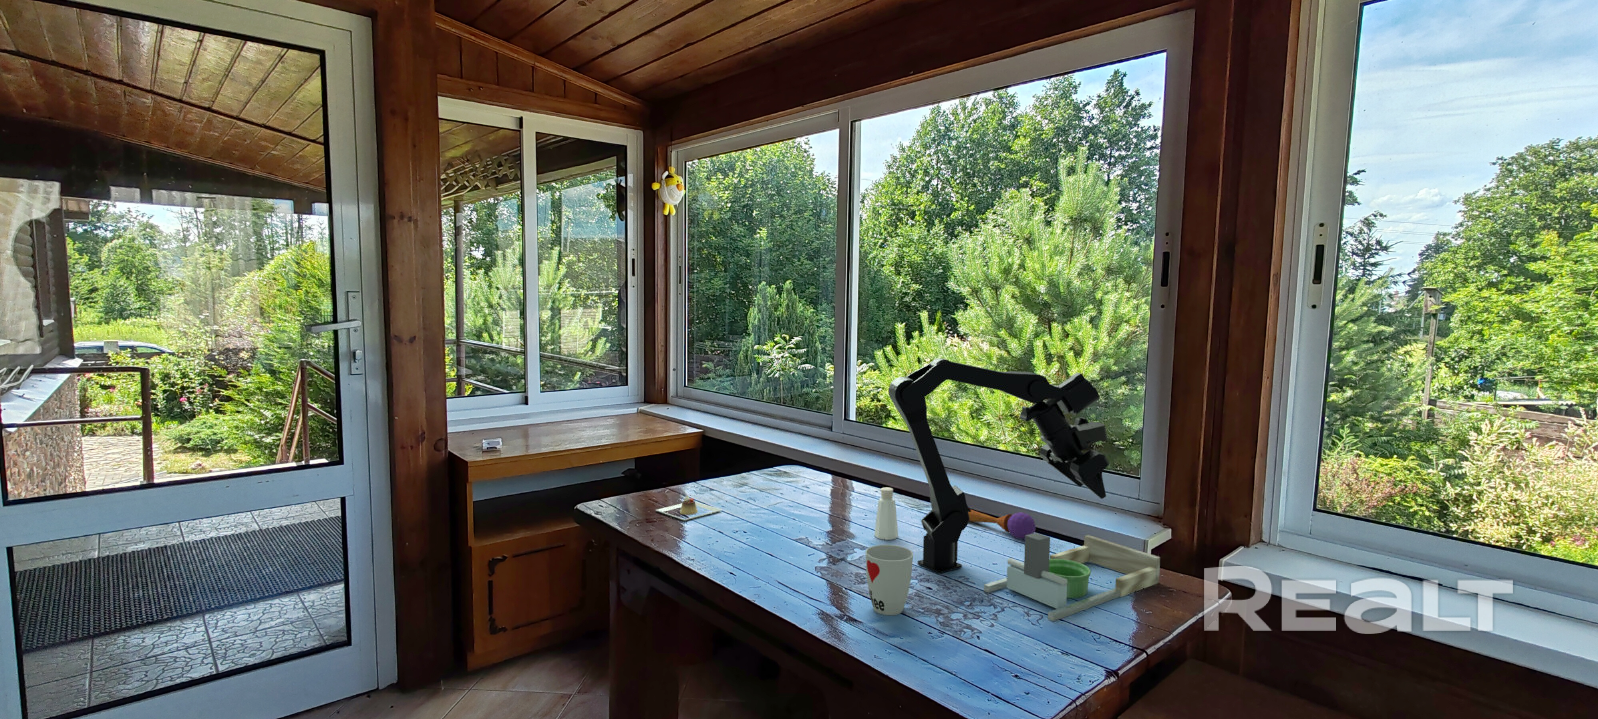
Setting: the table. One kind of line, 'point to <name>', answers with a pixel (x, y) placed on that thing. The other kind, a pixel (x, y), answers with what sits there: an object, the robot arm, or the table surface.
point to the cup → (888, 577)
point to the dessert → (689, 508)
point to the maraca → (1008, 523)
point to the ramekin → (1071, 576)
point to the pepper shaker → (886, 516)
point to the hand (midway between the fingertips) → (1092, 491)
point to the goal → (1110, 555)
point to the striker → (1037, 573)
